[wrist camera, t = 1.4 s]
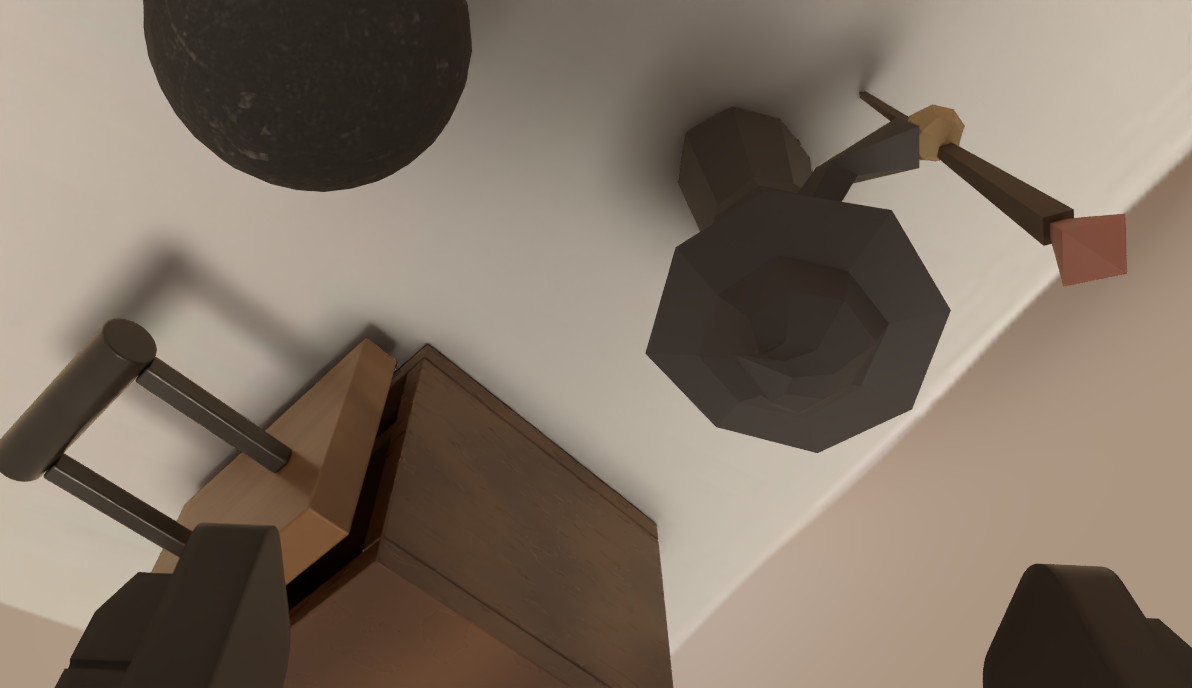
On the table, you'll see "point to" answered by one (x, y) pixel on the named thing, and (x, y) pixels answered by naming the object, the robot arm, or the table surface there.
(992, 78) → the table surface
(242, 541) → the robot arm
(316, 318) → the table surface
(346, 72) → the light bulb
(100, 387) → the drawer
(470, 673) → the cabinet
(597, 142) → the table surface
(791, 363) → the wizard figurine
